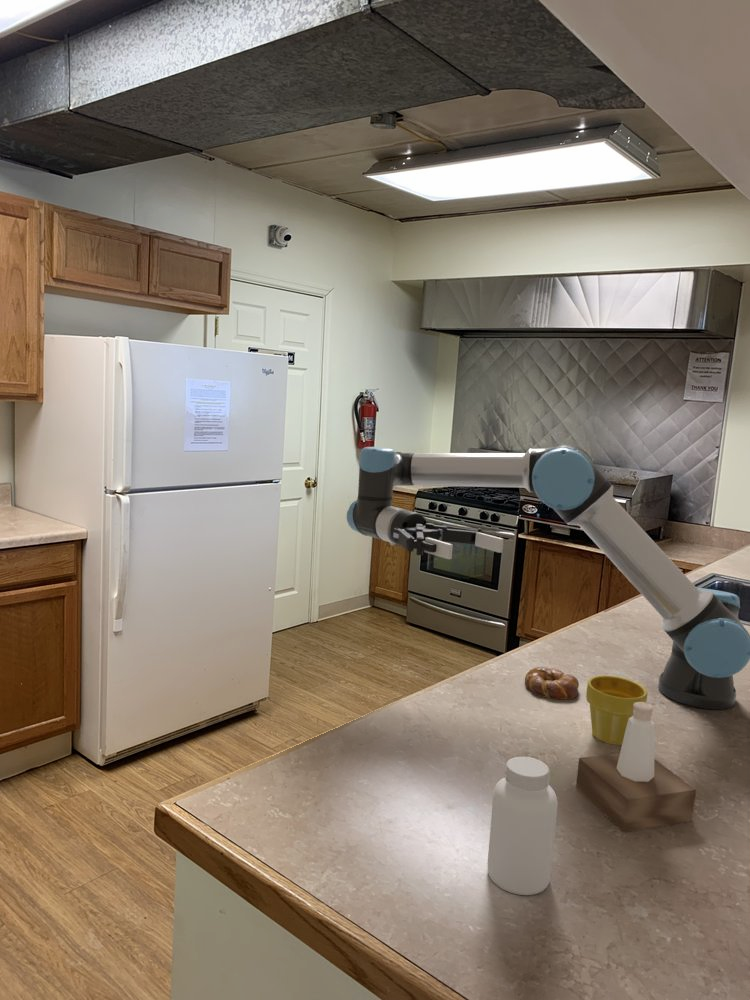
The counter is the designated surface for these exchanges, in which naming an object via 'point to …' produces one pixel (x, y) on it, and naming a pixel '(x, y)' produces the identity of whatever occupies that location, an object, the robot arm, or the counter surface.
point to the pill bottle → (522, 828)
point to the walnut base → (635, 794)
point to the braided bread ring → (551, 683)
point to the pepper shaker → (638, 745)
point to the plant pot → (612, 706)
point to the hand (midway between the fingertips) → (477, 548)
